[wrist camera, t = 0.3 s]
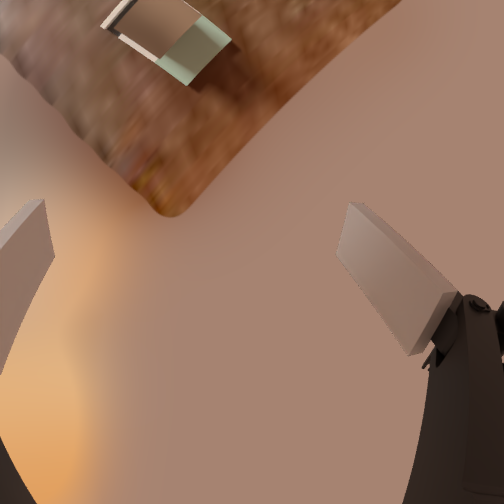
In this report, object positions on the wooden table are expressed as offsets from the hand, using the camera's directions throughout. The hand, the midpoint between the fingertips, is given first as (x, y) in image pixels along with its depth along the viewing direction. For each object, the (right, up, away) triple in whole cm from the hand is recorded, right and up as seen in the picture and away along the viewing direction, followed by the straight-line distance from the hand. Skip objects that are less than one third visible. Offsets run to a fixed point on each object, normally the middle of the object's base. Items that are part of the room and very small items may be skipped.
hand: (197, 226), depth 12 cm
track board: (-7, +22, +13) cm, 27 cm away
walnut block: (-7, +22, +11) cm, 25 cm away
